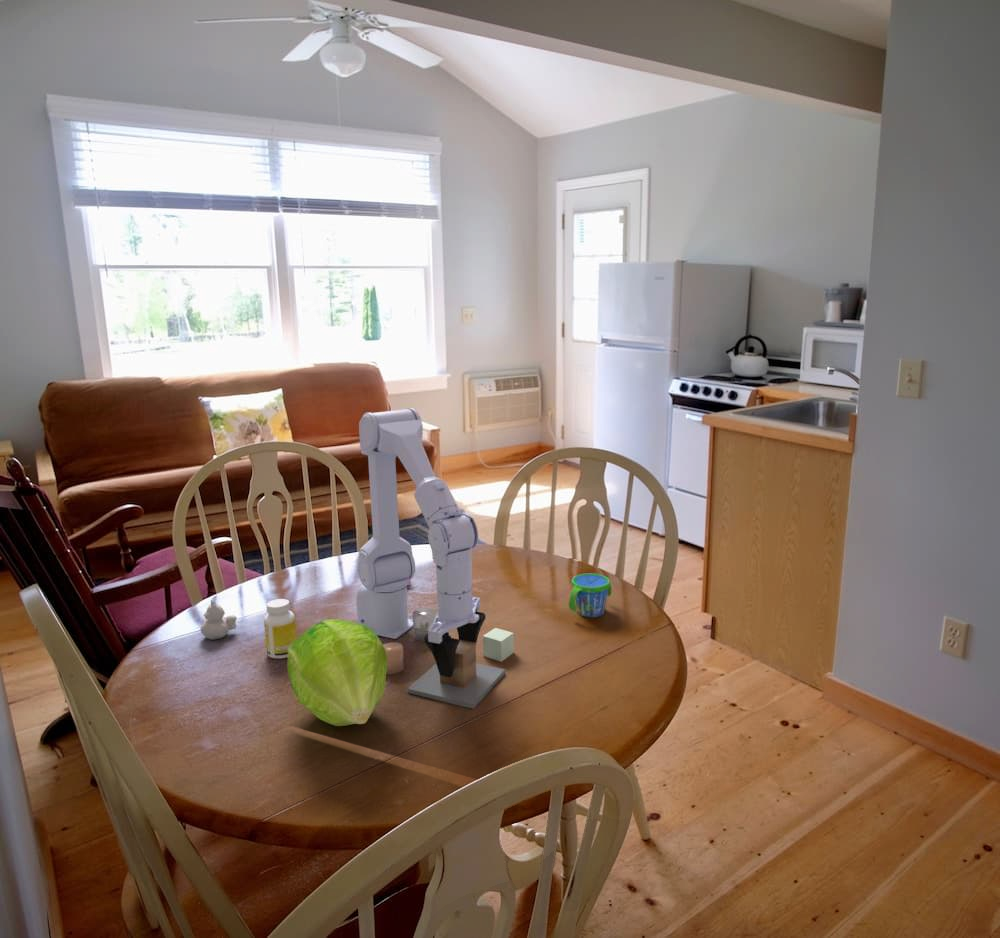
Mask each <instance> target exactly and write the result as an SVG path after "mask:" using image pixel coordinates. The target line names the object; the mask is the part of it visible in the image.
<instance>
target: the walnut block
mask: <svg viewBox="0 0 1000 938" xmlns="http://www.w3.org/2000/svg"><path fill="white" fill-rule="evenodd" d="M476 646H477V643H474V642H469V641H464V640H460V642H459V644H458V646H457V649H456V653H455V659H454V671H453V675H452V676H451V677H446V676H442V675H440V683H444V684H448V685H453V686H457V687H461V688H465V687H466V686H467V685H468V684H469V683H470V681H471V680H472V679H473V678H474V677H475V676H476V663H477V656H476V655H477V651H476V650H477V649H476V648H477V647H476Z"/></svg>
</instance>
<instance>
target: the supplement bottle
mask: <svg viewBox="0 0 1000 938" xmlns="http://www.w3.org/2000/svg"><path fill="white" fill-rule="evenodd" d="M266 603H267V604H266V612H267V614H266V615H265V616H264V617H263V623H264V625H263V626H264V634H265V645H266V647H265V648H266V654H267V656H268V657H269V658H271V659H275V660H277V659H285V658H288V649H289V647H290V646H291V645H292V644H293V643H294V642H295V641H296V640H297V639H298V638H297V627H296V617H295V616H296V615H295V614H294V612H292V611H291V610H290V609H291V605H290V600H288V599H286V598H277V599H271V600H270V601H268V602H266Z"/></svg>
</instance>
